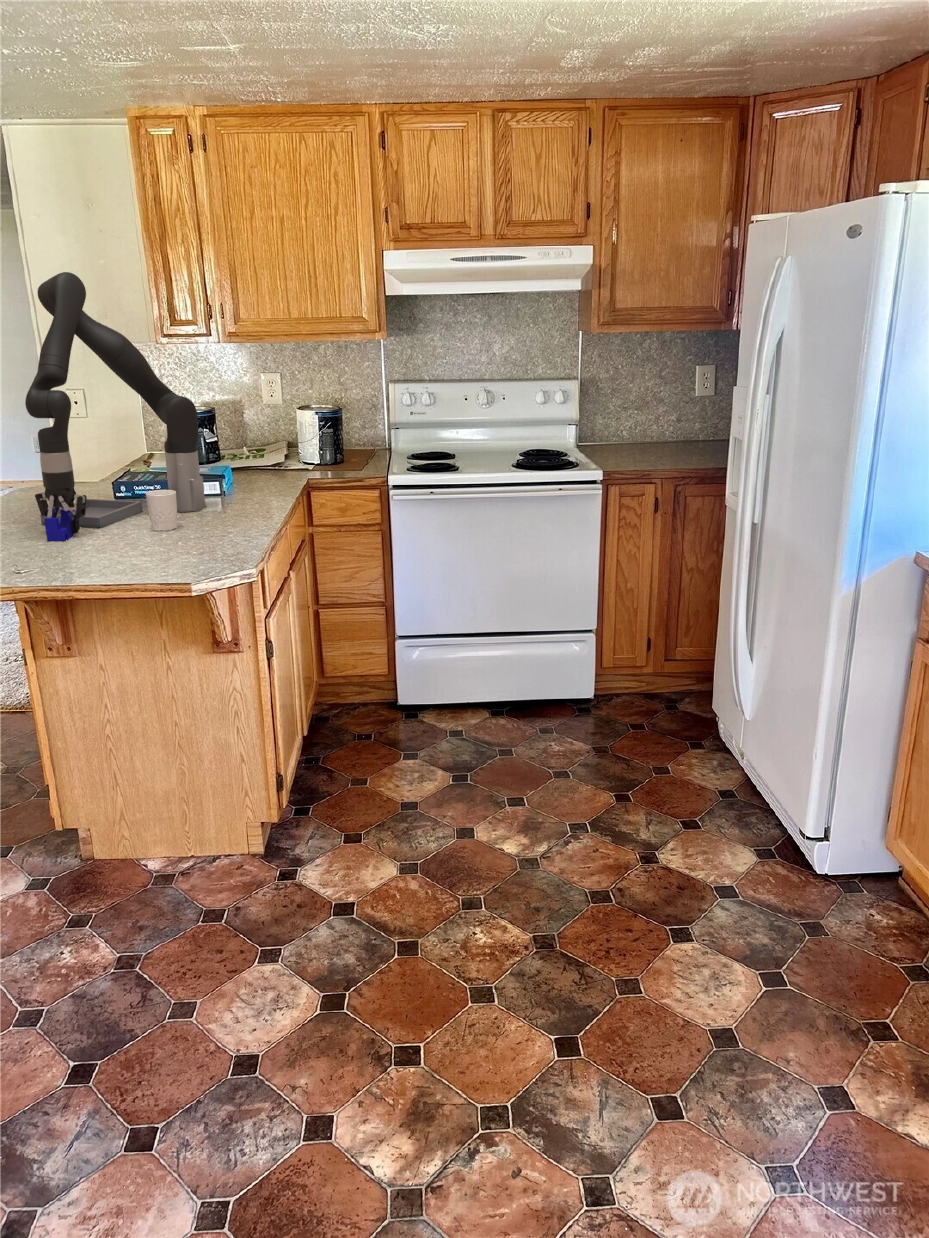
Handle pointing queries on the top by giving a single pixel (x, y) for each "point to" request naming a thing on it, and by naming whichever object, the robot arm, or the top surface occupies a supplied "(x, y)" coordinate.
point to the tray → (104, 512)
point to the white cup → (162, 509)
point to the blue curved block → (58, 528)
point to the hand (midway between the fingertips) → (65, 532)
